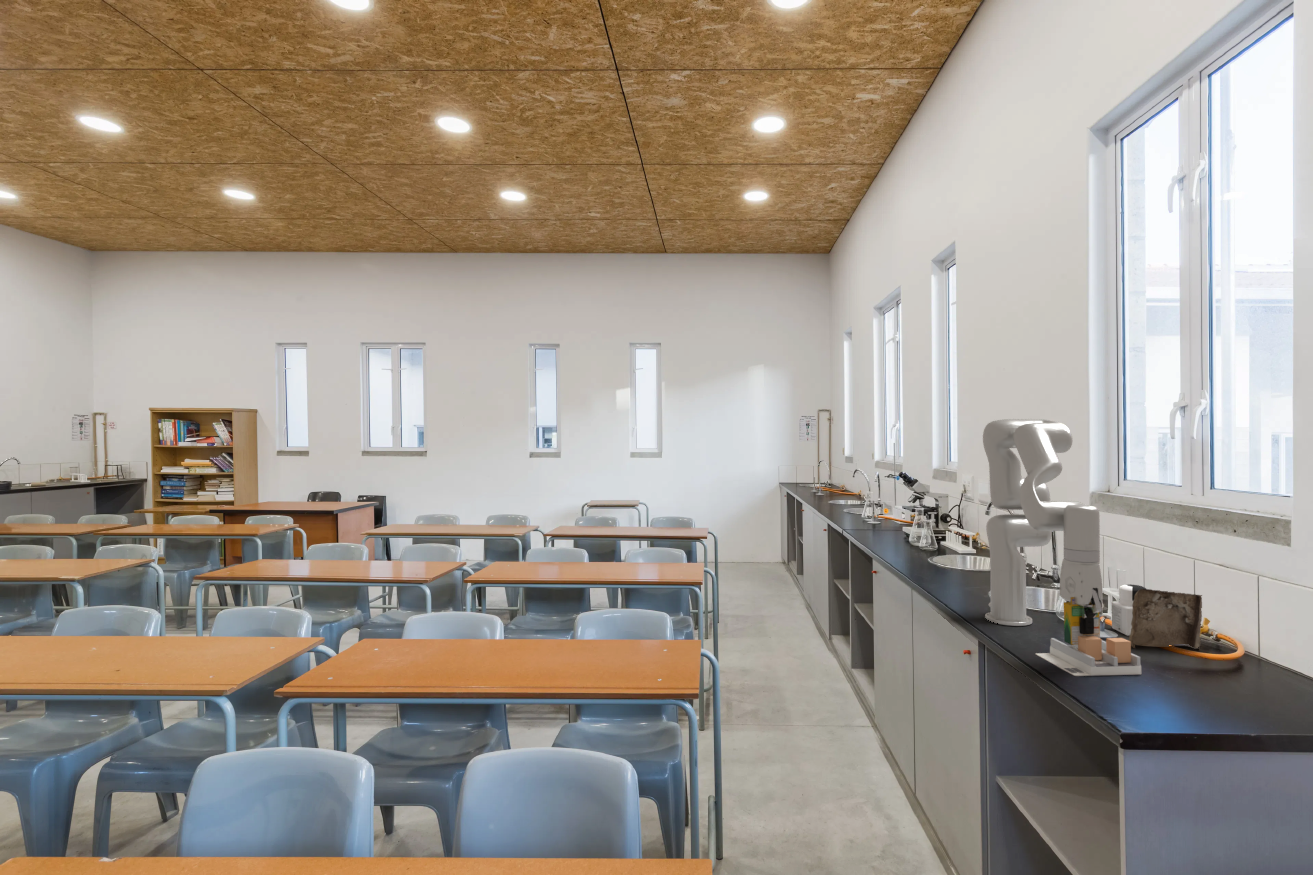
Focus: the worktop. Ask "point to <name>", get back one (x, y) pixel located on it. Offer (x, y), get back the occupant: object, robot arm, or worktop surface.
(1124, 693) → the worktop surface
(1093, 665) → the white divided tray
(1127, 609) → the container
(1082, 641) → the tan rectangular block
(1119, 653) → the light orange block
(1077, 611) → the crayon box
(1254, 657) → the worktop surface
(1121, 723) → the worktop surface
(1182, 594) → the mineral sample
